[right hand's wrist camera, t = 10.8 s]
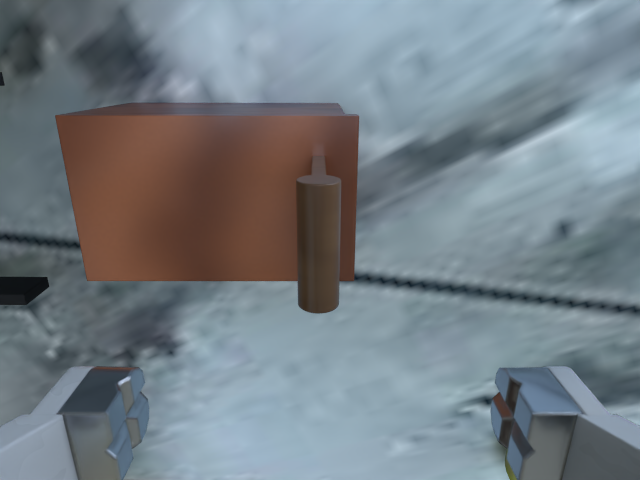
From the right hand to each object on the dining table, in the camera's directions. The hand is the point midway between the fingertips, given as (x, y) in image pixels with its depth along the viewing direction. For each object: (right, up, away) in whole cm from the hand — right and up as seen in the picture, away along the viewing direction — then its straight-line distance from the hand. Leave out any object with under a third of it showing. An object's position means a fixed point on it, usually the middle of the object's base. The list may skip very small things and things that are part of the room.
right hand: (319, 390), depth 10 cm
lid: (-6, +6, +16) cm, 18 cm away
